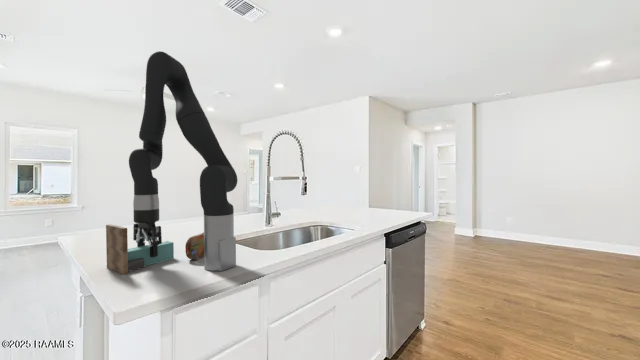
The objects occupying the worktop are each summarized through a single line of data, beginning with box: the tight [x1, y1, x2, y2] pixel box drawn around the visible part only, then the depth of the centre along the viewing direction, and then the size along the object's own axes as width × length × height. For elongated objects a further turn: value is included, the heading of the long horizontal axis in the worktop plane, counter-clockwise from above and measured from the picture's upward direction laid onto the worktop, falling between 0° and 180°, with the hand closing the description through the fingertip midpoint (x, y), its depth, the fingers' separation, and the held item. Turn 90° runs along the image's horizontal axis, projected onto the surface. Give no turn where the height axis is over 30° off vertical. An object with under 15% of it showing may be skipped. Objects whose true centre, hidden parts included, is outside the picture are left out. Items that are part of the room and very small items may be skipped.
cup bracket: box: [105, 223, 145, 276], centre depth 92 cm, size 12×7×14 cm, turn 57°
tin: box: [185, 232, 204, 261], centre depth 106 cm, size 15×3×8 cm, turn 168°
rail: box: [128, 240, 175, 267], centre depth 98 cm, size 4×16×6 cm, turn 148°
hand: (147, 255), depth 98 cm, fingers open, 8 cm apart
